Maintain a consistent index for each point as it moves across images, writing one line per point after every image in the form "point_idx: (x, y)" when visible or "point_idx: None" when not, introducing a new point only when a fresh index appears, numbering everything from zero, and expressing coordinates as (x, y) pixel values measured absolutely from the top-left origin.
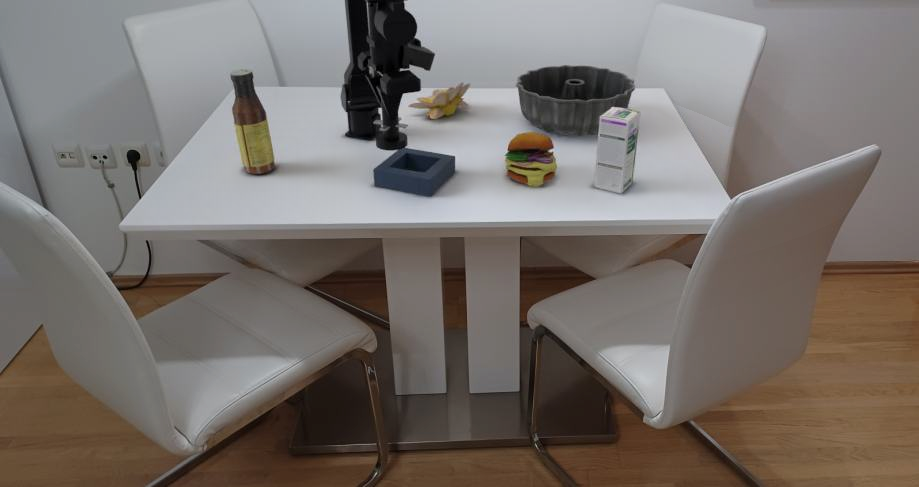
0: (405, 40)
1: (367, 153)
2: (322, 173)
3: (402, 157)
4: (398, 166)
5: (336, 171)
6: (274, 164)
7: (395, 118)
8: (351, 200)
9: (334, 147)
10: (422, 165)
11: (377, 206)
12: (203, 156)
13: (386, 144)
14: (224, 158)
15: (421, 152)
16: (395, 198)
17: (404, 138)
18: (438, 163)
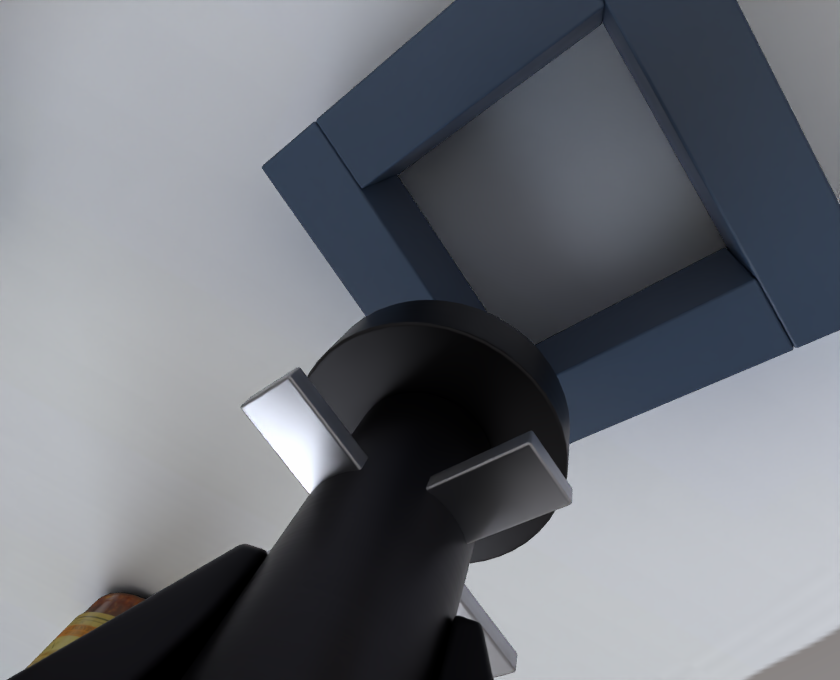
0: None
1: (129, 251)
2: (258, 509)
3: (399, 239)
4: (443, 280)
5: (264, 461)
6: (134, 598)
7: (483, 640)
8: (567, 568)
9: (25, 340)
10: (477, 111)
11: (707, 530)
12: (4, 670)
13: (519, 541)
14: (31, 645)
15: (413, 89)
16: (694, 426)
17: (518, 391)
18: (687, 81)
